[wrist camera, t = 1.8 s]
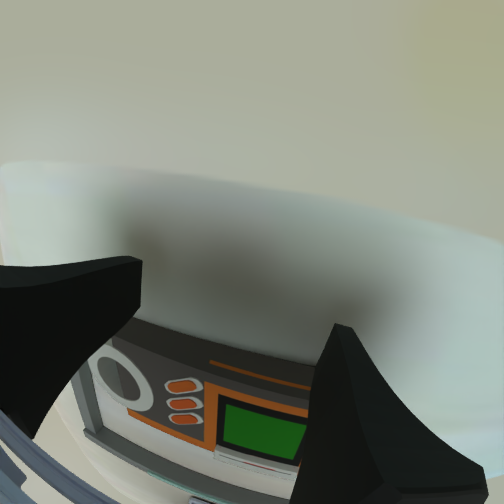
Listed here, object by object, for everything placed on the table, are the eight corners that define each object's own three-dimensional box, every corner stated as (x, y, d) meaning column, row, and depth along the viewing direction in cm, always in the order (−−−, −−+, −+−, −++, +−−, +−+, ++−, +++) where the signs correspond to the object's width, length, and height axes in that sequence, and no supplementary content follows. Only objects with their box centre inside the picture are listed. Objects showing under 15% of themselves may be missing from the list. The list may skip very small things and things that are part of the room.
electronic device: (73, 321, 13) (382, 419, 9) (108, 299, 16) (379, 373, 12) (98, 406, 15) (332, 490, 11) (122, 381, 18) (338, 451, 14)
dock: (319, 510, 17) (316, 526, 15) (94, 426, 21) (84, 438, 19) (382, 455, 13) (383, 478, 12) (75, 344, 17) (58, 358, 15)
